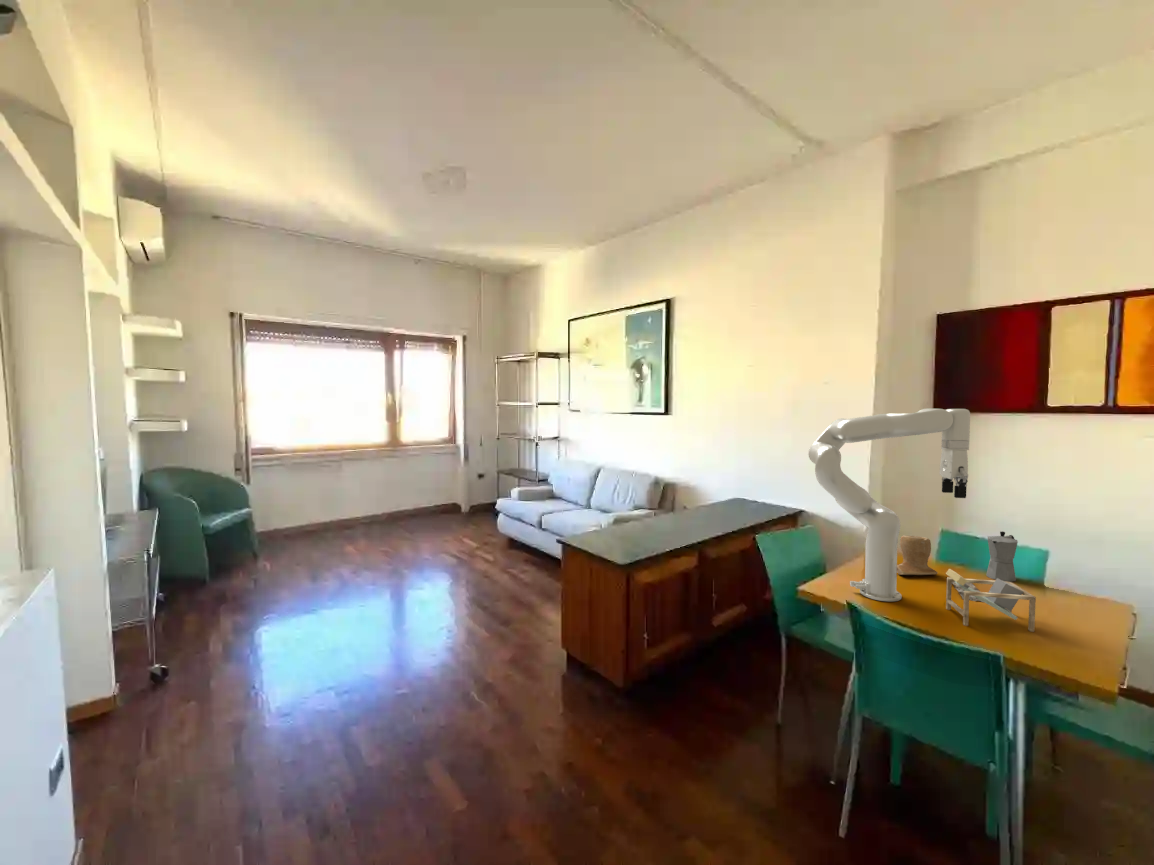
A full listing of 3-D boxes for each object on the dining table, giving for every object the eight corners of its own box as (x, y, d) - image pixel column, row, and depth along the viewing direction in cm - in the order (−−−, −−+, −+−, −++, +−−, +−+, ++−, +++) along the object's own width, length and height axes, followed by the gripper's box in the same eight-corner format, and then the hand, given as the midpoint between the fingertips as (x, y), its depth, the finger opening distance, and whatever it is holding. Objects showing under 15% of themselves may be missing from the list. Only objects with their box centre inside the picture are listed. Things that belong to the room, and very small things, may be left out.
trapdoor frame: (964, 625, 153) (965, 591, 152) (945, 608, 165) (946, 577, 164) (1034, 631, 148) (1035, 597, 147) (1009, 613, 160) (1011, 581, 160)
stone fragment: (963, 603, 171) (998, 606, 168) (963, 595, 171) (998, 598, 168) (933, 577, 195) (963, 579, 193) (933, 570, 195) (963, 572, 192)
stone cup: (921, 568, 204) (922, 531, 203) (942, 578, 193) (943, 539, 192) (884, 568, 205) (885, 532, 204) (902, 578, 193) (903, 540, 192)
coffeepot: (1007, 584, 185) (1009, 536, 184) (977, 577, 193) (979, 531, 192) (1026, 577, 192) (1028, 531, 191) (997, 570, 200) (998, 525, 199)
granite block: (993, 603, 154) (1005, 583, 152) (985, 596, 158) (997, 577, 157) (1011, 611, 152) (1023, 591, 151) (1002, 604, 157) (1014, 585, 156)
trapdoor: (956, 586, 154) (962, 578, 153) (942, 575, 163) (948, 567, 163) (1015, 620, 150) (1022, 611, 149) (997, 606, 160) (1004, 599, 159)
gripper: (932, 443, 179) (930, 490, 180) (953, 447, 162) (951, 499, 163) (956, 443, 177) (955, 491, 178) (980, 447, 160) (979, 500, 161)
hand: (953, 495), depth 170 cm, fingers open, 9 cm apart
